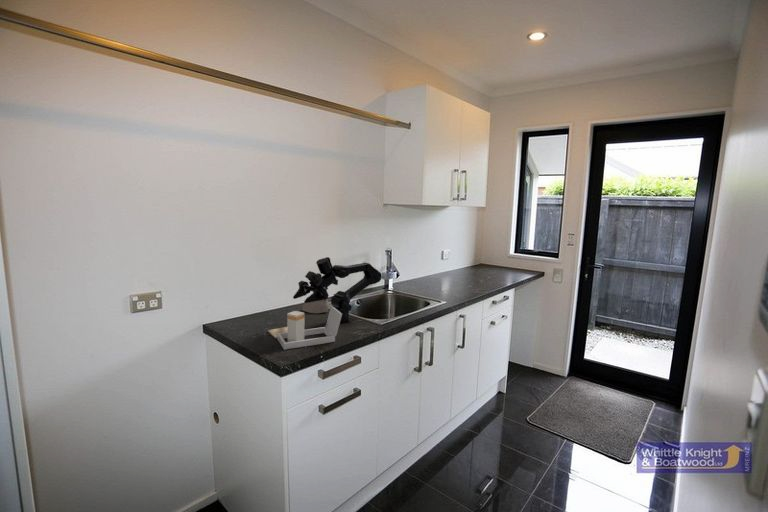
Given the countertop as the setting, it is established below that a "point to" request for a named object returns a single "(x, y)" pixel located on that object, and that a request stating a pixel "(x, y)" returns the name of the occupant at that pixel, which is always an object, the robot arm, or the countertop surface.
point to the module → (295, 326)
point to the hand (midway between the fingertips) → (299, 300)
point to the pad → (277, 331)
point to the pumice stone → (316, 306)
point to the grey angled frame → (315, 332)
